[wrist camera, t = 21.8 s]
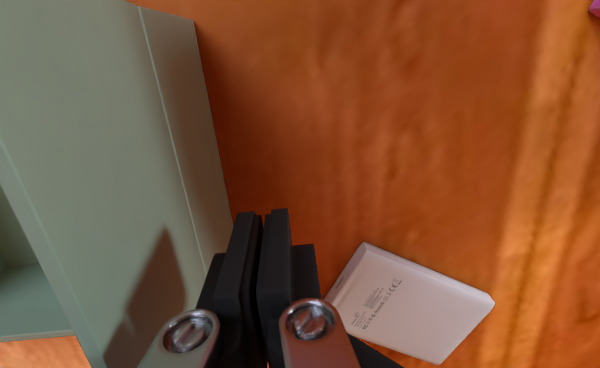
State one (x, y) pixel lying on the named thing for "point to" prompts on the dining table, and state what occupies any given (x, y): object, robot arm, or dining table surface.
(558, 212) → the dining table surface
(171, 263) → the flap
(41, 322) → the carton
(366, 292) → the hard drive
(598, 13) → the gum box
